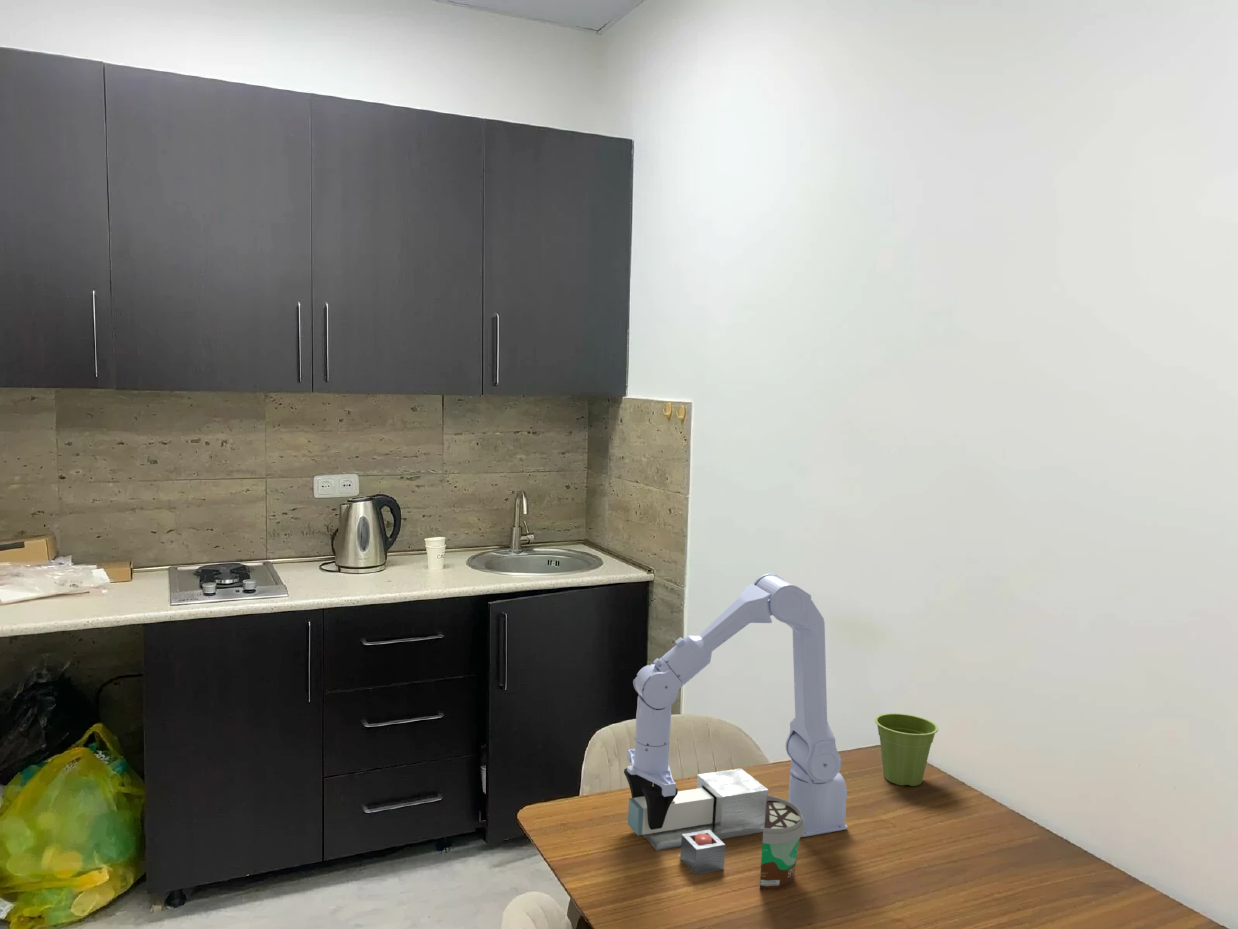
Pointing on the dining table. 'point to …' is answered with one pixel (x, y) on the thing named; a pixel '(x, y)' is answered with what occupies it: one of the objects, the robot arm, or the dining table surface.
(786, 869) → the food container
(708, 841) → the plunger
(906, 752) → the plant pot
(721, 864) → the plunger collar
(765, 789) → the housing
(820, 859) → the dining table surface
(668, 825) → the cartridge
